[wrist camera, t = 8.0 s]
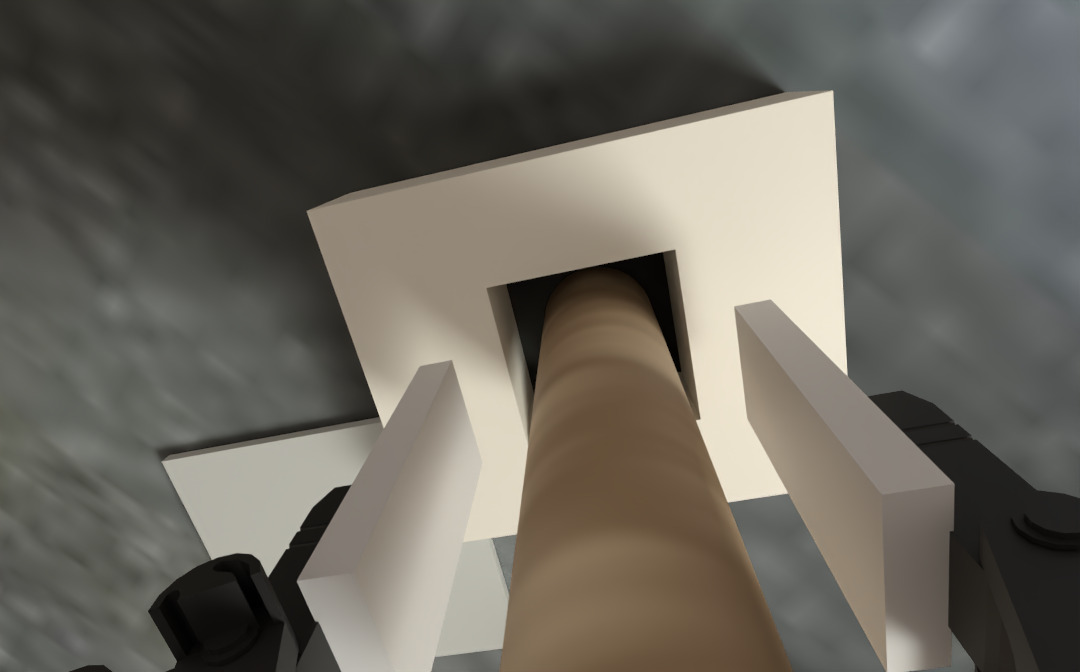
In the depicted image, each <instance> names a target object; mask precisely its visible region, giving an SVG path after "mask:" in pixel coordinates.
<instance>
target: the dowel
mask: <svg viewBox="0 0 1080 672" xmlns="http://www.w3.org/2000/svg"><path fill="white" fill-rule="evenodd" d="M500 672H793V670H792V667H791V665H790V662H789V659H788V657H787V654H786V652H785V649H784V647H783V644H782V641H781V639H780V636H779V634H778V631H777V628H776V626H775V623H774V621H773V618H772V616H771V613H770V610H769V608H768V605H767V603H766V600H765V597H764V595H763V592H762V590H761V587H760V585H759V582H758V579H757V577H756V574H755V572H754V569H753V567H752V564H751V561H750V559H749V556H748V554H747V551H746V548H745V546H744V543H743V541H742V538H741V536H740V533H739V530H738V528H737V525H736V523H735V520H734V517H733V515H732V512H731V510H730V507H729V505H728V502H727V499H726V497H725V494H724V492H723V489H722V487H721V484H720V481H719V479H718V476H717V474H716V471H715V468H714V466H713V463H712V461H711V458H710V456H709V453H708V450H707V448H706V445H705V443H704V440H703V437H702V435H701V432H700V430H699V427H698V425H697V422H696V419H695V417H694V414H693V412H692V409H691V407H690V404H689V401H688V399H687V396H686V394H685V391H684V388H683V386H682V383H681V381H680V378H679V376H678V373H677V370H676V368H675V365H674V363H673V360H672V357H671V355H670V352H669V350H668V347H667V345H666V342H665V339H664V337H663V334H662V332H661V329H660V327H659V324H658V321H657V319H656V316H655V314H654V311H653V308H652V306H651V303H650V301H649V298H648V296H647V294H646V292H645V290H644V289H643V288H642V286H641V285H640V284H639V283H638V282H637V281H636V280H635V279H633V278H632V277H631V276H629V275H628V274H626V273H624V272H622V271H619V270H617V269H613V268H608V267H591V268H586V269H582V270H579V271H577V272H574V273H572V274H571V275H569V276H567V277H566V278H565V279H563V280H562V281H561V282H560V283H559V284H558V285H557V286H556V288H555V289H554V290H553V292H552V293H551V295H550V297H549V299H548V302H547V305H546V309H545V316H544V324H543V332H542V340H541V348H540V356H539V364H538V372H537V379H536V387H535V395H534V403H533V411H532V419H531V427H530V435H529V443H528V451H527V459H526V466H525V474H524V482H523V490H522V498H521V506H520V514H519V522H518V530H517V538H516V546H515V553H514V561H513V569H512V577H511V585H510V593H509V601H508V609H507V617H506V625H505V633H504V640H503V648H502V656H501V664H500Z"/></svg>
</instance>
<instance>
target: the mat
mask: <svg viewBox="0 0 1080 672" xmlns="http://www.w3.org/2000/svg"><path fill="white" fill-rule="evenodd" d="M383 429H384V427H383V425H382V422H381V419H380V417H377V418H372V419H366V420H361V421H355V422H349V423H344V424H338V425H333V426H327V427H322V428H316V429H311V430H305V431H300V432H294V433H289V434H283V435H278V436H272V437H266V438H261V439H255V440H250V441H244V442H239V443H233V444H228V445H222V446H217V447H211V448H206V449H200V450H195V451H189V452H183V453H178V454H172V455H169V456H167V457H166V458H165V459H164V460H163V461H162V463H163V465H164V467H165V469H166V471H167V473H168V475H169V477H170V479H171V481H172V483H173V485H174V487H175V489H176V491H177V493H178V495H179V497H180V498H181V500H182V502H183V504H184V506H185V508H186V510H187V512H188V514H189V516H190V518H191V520H192V522H193V524H194V526H195V528H196V530H197V532H198V534H199V536H200V537H201V539H202V541H203V543H204V545H205V547H206V549H207V551H208V553H209V555H210V557H211V559H212V560H213V559H215V558H218V557H222V556H226V555H230V554H235V553H243V554H252V555H253V556H255V557H256V558H257V559H258V560H260V562H261V564H262V566H263V568H264V570H265V572H266V575H267V577H269V575H270V573H271V572H272V570H273V569H274V567H275V566H276V564H277V562H278V561H279V559H280V558H281V556H282V555H283V553H284V552H285V550H286V549H289V544H290V542H291V541H292V539H293V537H294V536H295V534H296V533H297V532H298V531H300V526H301V525H302V523H303V522H304V520H305V519H306V517H307V515H308V514H309V512H310V511H311V509H312V508H313V506H315V505H316V504H317V503H318V502H319V501H320V500H321V499H322V498H324V497H325V496H326V495H327V494H328V493H329V492H330V491H331V490H332V489H334V488H335V487H341V486H347V485H352V483H353V482H354V480H355V478H356V476H357V475H358V473H359V471H360V470H361V468H362V466H363V464H364V463H365V461H366V459H367V457H368V456H369V454H370V452H371V450H372V449H373V447H374V445H375V443H376V442H377V440H378V438H379V436H380V435H381V433H382V431H383ZM508 601H509V592H508V589H507V586H506V583H505V579H504V576H503V573H502V570H501V566H500V563H499V560H498V557H497V553H496V550H495V547H494V544H493V540H492V538H488V539H481V540H475V541H468V542H463V544H462V548H461V552H460V556H459V560H458V564H457V568H456V572H455V577H454V581H453V585H452V589H451V593H450V597H449V601H448V605H447V609H446V613H445V617H444V621H443V625H442V629H441V633H440V637H439V641H438V645H437V649H436V653H435V657H439V656H447V655H455V654H463V653H471V652H478V651H486V650H494V649H502V648H503V640H504V633H505V625H506V617H507V609H508Z"/></svg>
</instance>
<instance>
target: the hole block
mask: <svg viewBox="0 0 1080 672" xmlns="http://www.w3.org/2000/svg"><path fill="white" fill-rule="evenodd" d="M307 214H308V217H309V220H310V222H311V225H312V228H313V231H314V234H315V236H316V239H317V242H318V245H319V248H320V250H321V253H322V256H323V259H324V262H325V265H326V267H327V270H328V273H329V276H330V279H331V281H332V284H333V287H334V290H335V293H336V295H337V298H338V301H339V304H340V307H341V309H342V312H343V315H344V318H345V321H346V323H347V326H348V329H349V332H350V335H351V338H352V340H353V343H354V346H355V349H356V352H357V354H358V357H359V360H360V363H361V366H362V368H363V371H364V374H365V377H366V380H367V382H368V385H369V388H370V391H371V394H372V396H373V399H374V402H375V405H376V408H377V411H378V413H379V416H380V419H381V422H382V425H383V427H384V428H385V426H386V424H387V422H388V421H389V419H390V417H391V415H392V414H393V412H394V410H395V408H396V407H397V405H398V403H399V401H400V400H401V398H402V396H403V395H404V393H405V391H406V389H407V388H408V386H409V384H410V382H411V381H412V379H413V377H414V375H415V374H416V372H417V370H418V368H419V367H420V366H423V365H428V364H433V363H439V362H444V361H449V360H452V362H453V365H454V368H455V372H456V375H457V378H458V382H459V385H460V388H461V392H462V395H463V399H464V402H465V405H466V409H467V412H468V415H469V419H470V422H471V425H472V429H473V432H474V435H475V439H476V442H477V445H478V449H479V452H480V456H481V459H482V462H483V463H482V467H481V471H480V475H479V479H478V483H477V488H476V492H475V496H474V500H473V504H472V508H471V512H470V516H469V520H468V524H467V528H466V532H465V536H464V540H463V542H468V541H475V540H481V539H488V538H495V537H501V536H508V535H515V534H517V530H518V522H519V514H520V506H521V498H522V490H523V482H524V474H525V466H526V459H527V451H528V443H529V435H530V427H531V419H532V411H533V403H534V392H533V388H532V384H531V380H530V376H529V372H528V368H527V364H526V360H525V356H524V352H523V348H522V344H521V340H520V336H519V332H518V328H517V324H516V320H515V316H514V312H513V308H512V304H511V300H510V296H509V293H508V289H507V285H506V284H508V283H513V282H518V281H523V280H528V279H533V278H537V277H542V276H547V275H552V274H557V273H562V272H567V271H572V270H577V269H582V268H586V267H591V266H596V265H601V264H606V263H611V262H616V261H621V260H626V259H631V258H636V257H640V256H645V255H650V254H655V253H660V252H663V257H664V263H665V269H666V276H667V282H668V289H669V295H670V302H671V308H672V315H673V321H674V327H675V334H676V340H677V347H678V353H679V360H680V366H681V372H677V373H678V376H679V378H680V381H681V383H682V386H683V388H684V391H685V394H686V396H687V399H688V401H689V404H690V407H691V409H692V412H693V414H694V417H695V419H696V422H697V425H698V427H699V430H700V432H701V435H702V437H703V440H704V443H705V445H706V448H707V450H708V453H709V456H710V458H711V461H712V463H713V466H714V468H715V471H716V474H717V476H718V479H719V481H720V484H721V487H722V489H723V492H724V494H725V497H726V499H727V502H733V501H740V500H747V499H753V498H760V497H766V496H773V495H780V494H786V493H788V492H787V490H786V488H785V487H784V485H783V483H782V481H781V479H780V477H779V476H778V474H777V472H776V470H775V468H774V466H773V465H772V463H771V461H770V459H769V457H768V456H767V454H766V452H765V450H764V448H763V446H762V445H761V443H760V441H759V439H758V437H757V436H756V434H755V432H754V430H753V428H752V426H751V425H750V423H749V421H748V419H747V413H746V404H745V396H744V387H743V379H742V370H741V362H740V353H739V345H738V336H737V328H736V319H735V311H734V306H739V305H744V304H749V303H754V302H760V301H765V300H770V299H771V300H772V301H773V302H774V303H775V304H776V305H777V306H778V307H779V308H780V309H781V310H782V311H783V312H784V313H785V314H786V315H787V316H788V317H789V318H790V319H791V320H792V321H793V322H794V323H795V324H796V325H797V326H798V327H799V328H800V329H801V330H802V331H803V332H804V333H805V334H806V335H807V336H808V337H809V338H810V339H811V340H812V341H813V342H814V343H815V344H816V345H817V346H818V347H819V348H820V349H821V350H822V351H823V352H824V353H825V354H826V355H827V356H828V357H829V358H830V359H831V360H832V361H833V362H834V363H835V364H836V365H837V366H838V367H839V368H840V369H841V370H842V371H843V372H844V373H845V374H846V375H847V359H846V340H845V320H844V300H843V280H842V261H841V241H840V221H839V201H838V181H837V162H836V142H835V122H834V102H833V91H807V92H785V93H781V94H777V95H772V96H768V97H764V98H759V99H755V100H751V101H746V102H742V103H738V104H733V105H729V106H725V107H720V108H716V109H712V110H707V111H703V112H699V113H694V114H690V115H686V116H681V117H677V118H673V119H668V120H664V121H660V122H655V123H651V124H647V125H642V126H638V127H634V128H629V129H625V130H621V131H616V132H612V133H608V134H603V135H599V136H595V137H590V138H586V139H582V140H577V141H573V142H569V143H564V144H560V145H556V146H551V147H547V148H543V149H538V150H534V151H530V152H525V153H521V154H517V155H512V156H508V157H504V158H499V159H495V160H491V161H486V162H482V163H478V164H473V165H469V166H465V167H460V168H456V169H452V170H447V171H443V172H438V173H434V174H430V175H425V176H421V177H417V178H412V179H408V180H404V181H399V182H395V183H391V184H386V185H382V186H378V187H373V188H369V189H365V190H360V191H356V192H352V193H349V194H346V195H344V196H341V197H339V198H337V199H334V200H332V201H329V202H327V203H325V204H322V205H320V206H317V207H315V208H313V209H310V210H308V211H307Z"/></svg>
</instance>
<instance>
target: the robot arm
mask: <svg viewBox="0 0 1080 672" xmlns="http://www.w3.org/2000/svg"><path fill="white" fill-rule="evenodd" d="M734 311H735V319H736V328H737V336H738V345H739V353H740V362H741V370H742V379H743V387H744V396H745V404H746V413H747V419H748V421H749V423H750V425H751V426H752V428H753V430H754V432H755V434H756V436H757V437H758V439H759V441H760V443H761V445H762V446H763V448H764V450H765V452H766V454H767V456H768V457H769V459H770V461H771V463H772V465H773V466H774V468H775V470H776V472H777V474H778V476H779V477H780V479H781V481H782V483H783V485H784V487H785V488H786V490H787V492H788V494H789V496H790V497H791V499H792V501H793V503H794V505H795V507H796V508H797V510H798V512H799V514H800V516H801V517H802V519H803V521H804V523H805V525H806V527H807V528H808V530H809V532H810V534H811V536H812V537H813V539H814V541H815V543H816V545H817V547H818V548H819V550H820V552H821V554H822V556H823V558H824V559H825V561H826V563H827V565H828V567H829V568H830V570H831V572H832V574H833V576H834V578H835V579H836V581H837V583H838V585H839V587H840V588H841V590H842V592H843V594H844V596H845V598H846V599H847V601H848V603H849V605H850V607H851V608H852V610H853V612H854V614H855V616H856V618H857V619H858V621H859V623H860V625H861V627H862V629H863V630H864V632H865V634H866V636H867V638H868V639H869V641H870V643H871V645H872V647H873V649H874V650H875V652H876V654H877V656H878V658H879V659H880V661H881V663H882V665H883V667H884V669H885V670H886V672H907V671H915V670H924V669H933V668H942V667H951V648H952V632H953V634H954V635H955V636H956V638H957V639H958V641H959V642H960V643H961V645H962V646H963V648H964V649H965V650H966V652H967V653H968V655H969V656H970V657H971V659H972V660H973V662H974V663H975V672H1080V498H1077V497H1073V496H1070V495H1067V494H1062V493H1054V492H1046V491H1038V490H1036V489H1034V488H1033V487H1032V486H1031V485H1030V484H1028V483H1027V482H1026V481H1025V480H1024V479H1022V478H1021V477H1020V476H1019V475H1018V474H1016V473H1015V472H1014V471H1013V470H1012V469H1011V468H1009V467H1008V466H1007V465H1006V464H1005V463H1003V462H1002V461H1001V460H1000V459H999V458H997V457H996V456H995V455H994V454H993V453H991V452H990V451H989V450H988V449H987V448H986V447H984V446H983V445H982V444H981V443H980V442H978V441H977V440H973V439H972V436H971V435H970V434H969V433H968V432H967V431H965V430H964V429H963V428H962V427H961V426H959V425H958V424H957V425H955V424H954V421H953V420H952V419H951V418H950V417H949V416H947V415H946V414H945V413H944V412H943V411H942V410H940V409H939V408H938V407H937V406H936V405H934V404H933V403H931V402H929V401H926V400H924V399H921V398H919V397H916V396H914V395H911V394H909V393H906V392H904V391H897V392H891V393H885V394H879V395H873V396H866V395H865V394H864V393H863V392H862V391H861V390H860V389H859V388H858V387H857V386H856V385H855V384H854V383H853V382H852V381H851V380H850V378H849V377H848V376H847V375H846V374H845V373H844V372H843V371H842V370H841V369H840V368H839V367H838V366H837V365H836V364H835V363H834V362H833V361H832V360H831V359H830V358H829V357H828V356H827V355H826V354H825V353H824V352H823V351H822V350H821V349H820V348H819V347H818V346H817V345H816V344H815V343H814V342H813V341H812V340H811V339H810V338H809V337H808V336H807V335H806V334H805V333H804V332H803V331H802V330H801V329H800V328H799V327H798V326H797V325H796V324H795V323H794V322H793V321H792V320H791V319H790V318H789V317H788V316H787V315H786V314H785V313H784V312H783V311H782V310H781V309H780V308H779V307H778V306H777V305H776V304H775V303H774V302H773V301H772V300H771V299H770V300H765V301H760V302H754V303H749V304H744V305H739V306H734ZM482 463H483V462H482V459H481V456H480V452H479V449H478V445H477V442H476V439H475V435H474V432H473V429H472V425H471V422H470V419H469V415H468V412H467V409H466V405H465V402H464V399H463V395H462V392H461V388H460V385H459V382H458V378H457V375H456V372H455V368H454V365H453V362H452V360H449V361H444V362H439V363H433V364H428V365H423V366H420V367H419V368H418V370H417V372H416V374H415V375H414V377H413V379H412V381H411V382H410V384H409V386H408V388H407V389H406V391H405V393H404V395H403V396H402V398H401V400H400V401H399V403H398V405H397V407H396V408H395V410H394V412H393V414H392V415H391V417H390V419H389V421H388V422H387V424H386V426H385V428H384V429H383V431H382V433H381V435H380V436H379V438H378V440H377V442H376V443H375V445H374V447H373V449H372V450H371V452H370V454H369V456H368V457H367V459H366V461H365V463H364V464H363V466H362V468H361V470H360V471H359V473H358V475H357V476H356V478H355V480H354V482H353V483H352V485H347V486H341V487H335V488H334V489H332V490H331V491H330V492H329V493H328V494H327V495H326V496H325V497H324V498H322V499H321V500H320V501H319V502H318V503H317V504H316V505H315V506H313V508H312V509H311V511H310V512H309V514H308V515H307V517H306V519H305V520H304V522H303V523H302V525H301V526H300V531H298V532H297V533H296V534H295V536H294V537H293V539H292V541H291V542H290V544H289V549H286V550H285V552H284V553H283V555H282V556H281V558H280V559H279V561H278V562H277V564H276V566H275V567H274V569H273V570H272V572H271V573H270V575H269V577H267V575H266V572H265V570H264V568H263V566H262V564H261V562H260V560H258V559H257V558H256V557H255V556H253V555H252V554H243V553H235V554H230V555H226V556H222V557H218V558H215V559H213V560H211V561H209V562H206V563H204V564H202V565H200V566H197V567H196V568H194V569H192V570H191V571H189V572H188V573H186V574H185V575H183V576H182V577H180V578H178V579H177V580H176V581H175V582H173V583H172V584H171V585H170V586H169V587H168V588H167V589H166V590H165V591H163V592H162V593H161V594H160V595H159V596H158V598H157V599H156V601H155V602H154V603H153V605H152V606H151V608H150V609H149V610H148V612H149V614H150V615H151V617H152V619H153V621H154V622H155V624H156V626H157V627H158V629H159V631H160V633H161V634H162V636H163V638H164V640H165V641H166V643H167V645H168V646H169V648H170V650H171V652H172V653H173V655H174V657H175V658H176V660H177V663H176V666H175V668H174V669H172V670H169V671H166V672H431V670H432V665H433V661H434V657H435V653H436V649H437V645H438V641H439V637H440V633H441V629H442V625H443V621H444V617H445V613H446V609H447V605H448V601H449V597H450V593H451V589H452V585H453V581H454V577H455V572H456V568H457V564H458V560H459V556H460V552H461V548H462V544H463V540H464V536H465V532H466V528H467V524H468V520H469V516H470V512H471V508H472V504H473V500H474V496H475V492H476V488H477V483H478V479H479V475H480V471H481V467H482ZM70 672H112V671H111V670H109V669H108V668H107V667H105V666H104V665H88V666H85V667H82V668H79V669H76V670H73V671H70Z"/></svg>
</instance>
